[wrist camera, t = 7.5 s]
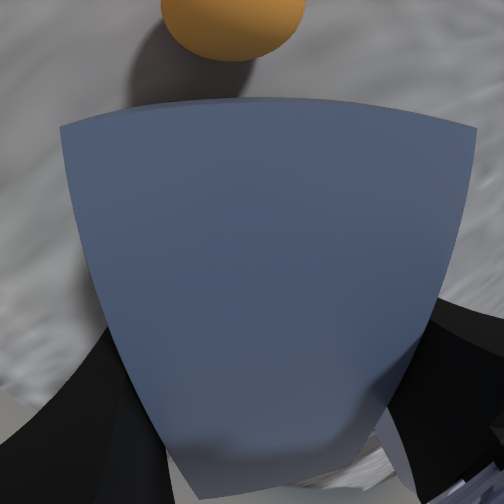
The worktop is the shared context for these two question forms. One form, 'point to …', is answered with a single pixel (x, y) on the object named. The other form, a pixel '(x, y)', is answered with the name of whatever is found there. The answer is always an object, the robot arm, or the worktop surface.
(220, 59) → the ball
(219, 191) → the slate blue block
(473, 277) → the worktop surface
